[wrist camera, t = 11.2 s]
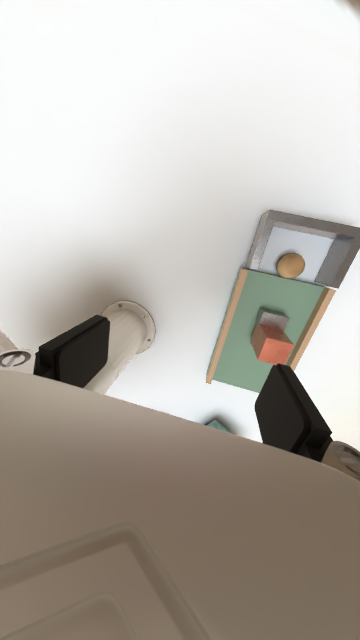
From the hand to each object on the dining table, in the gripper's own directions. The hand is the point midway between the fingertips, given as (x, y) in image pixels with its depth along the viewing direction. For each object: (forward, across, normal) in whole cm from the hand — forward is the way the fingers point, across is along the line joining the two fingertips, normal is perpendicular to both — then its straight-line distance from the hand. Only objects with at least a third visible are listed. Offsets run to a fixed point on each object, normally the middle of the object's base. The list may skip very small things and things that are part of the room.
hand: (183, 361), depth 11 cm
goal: (+28, -13, -8) cm, 32 cm away
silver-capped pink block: (+26, -13, +6) cm, 30 cm away
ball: (+26, -13, -6) cm, 30 cm away
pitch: (+28, -13, +8) cm, 32 cm away
